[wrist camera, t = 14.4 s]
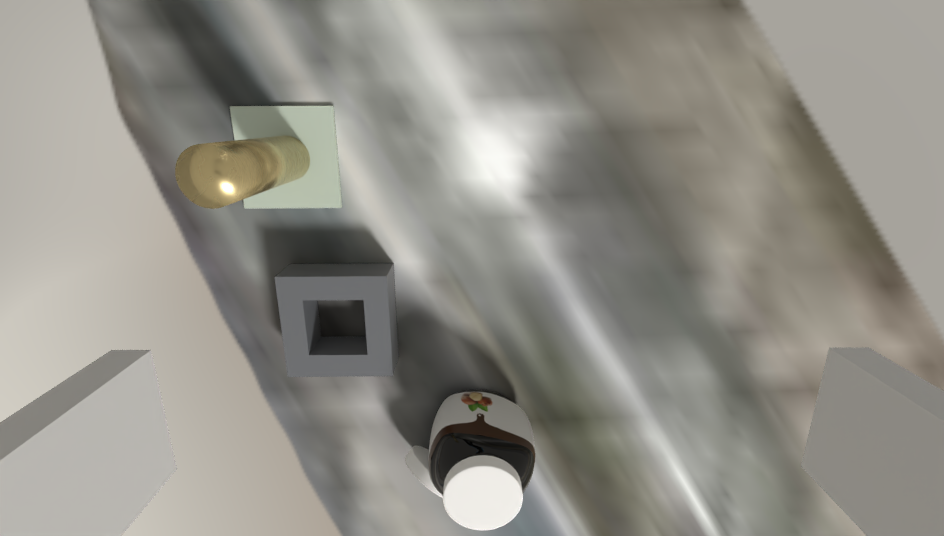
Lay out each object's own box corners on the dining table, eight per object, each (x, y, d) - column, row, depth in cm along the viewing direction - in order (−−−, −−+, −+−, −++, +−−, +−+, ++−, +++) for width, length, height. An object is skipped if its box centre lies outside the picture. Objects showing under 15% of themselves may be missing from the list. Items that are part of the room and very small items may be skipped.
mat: (231, 106, 43) (229, 106, 42) (333, 105, 43) (332, 105, 42) (245, 207, 45) (244, 208, 45) (342, 207, 45) (341, 207, 45)
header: (290, 263, 47) (274, 276, 43) (393, 263, 47) (386, 276, 43) (301, 356, 50) (287, 376, 46) (398, 356, 50) (392, 376, 46)
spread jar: (534, 396, 52) (552, 473, 41) (507, 482, 55) (517, 574, 44) (424, 373, 51) (411, 445, 40) (403, 461, 54) (386, 551, 43)
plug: (262, 135, 43) (169, 144, 30) (307, 135, 43) (234, 143, 30) (268, 180, 44) (181, 208, 31) (312, 180, 44) (244, 208, 31)
